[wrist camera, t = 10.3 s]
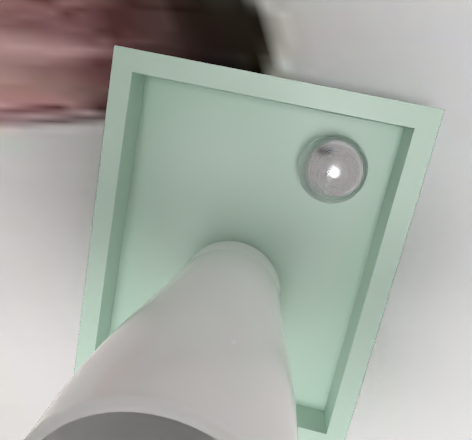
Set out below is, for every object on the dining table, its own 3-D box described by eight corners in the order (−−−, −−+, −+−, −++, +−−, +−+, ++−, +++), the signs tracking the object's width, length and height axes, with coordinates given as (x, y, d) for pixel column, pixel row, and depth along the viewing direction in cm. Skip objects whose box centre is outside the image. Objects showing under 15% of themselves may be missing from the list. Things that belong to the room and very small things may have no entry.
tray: (133, 53, 23) (114, 45, 20) (428, 111, 21) (444, 109, 19) (92, 360, 27) (72, 383, 25) (336, 423, 26) (340, 455, 23)
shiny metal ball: (305, 127, 22) (307, 128, 19) (370, 140, 22) (382, 143, 18) (291, 190, 23) (290, 200, 19) (353, 203, 22) (362, 216, 19)
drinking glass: (289, 219, 23) (288, 394, 8) (298, 339, 24) (311, 667, 10) (163, 228, 24) (-37, 400, 9) (179, 343, 25) (28, 649, 11)
